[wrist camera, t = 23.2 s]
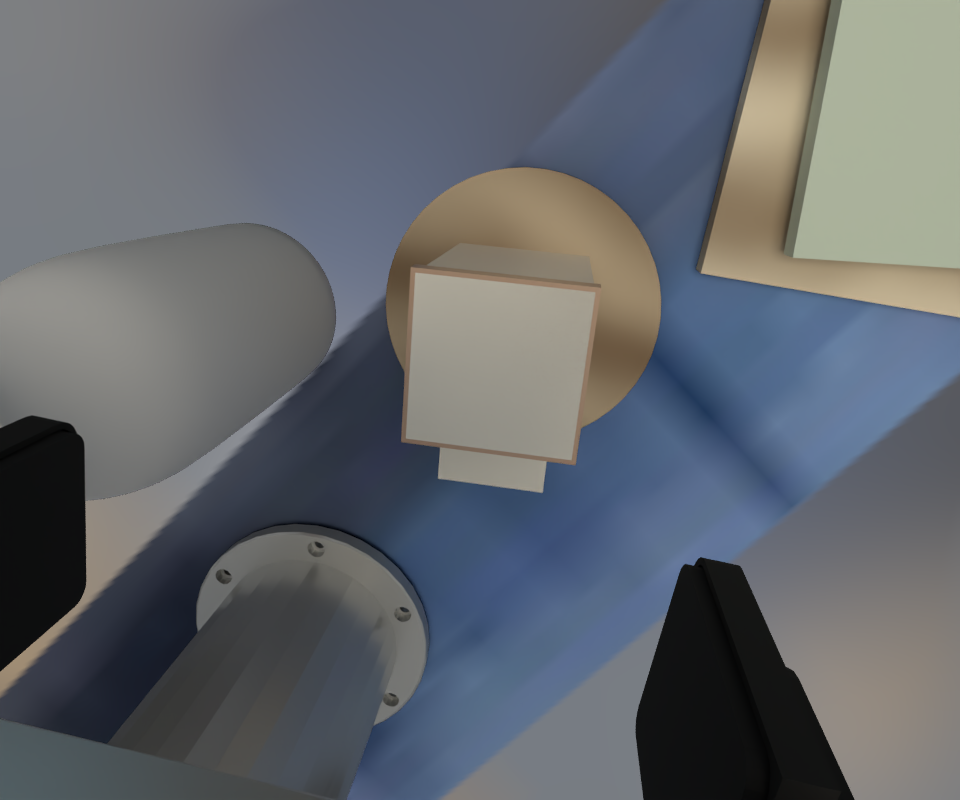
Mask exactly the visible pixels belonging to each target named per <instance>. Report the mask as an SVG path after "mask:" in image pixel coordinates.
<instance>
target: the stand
mask: <svg viewBox="0 0 960 800" xmlns="http://www.w3.org/2000/svg"><path fill="white" fill-rule="evenodd" d="M830 4H831V0H764V4H763V8H762V12H761V16H760V20H759V24H758V28H757V31H756V35H755V39H754V43H753V47H752V51H751V55H750V59H749V63H748V67H747V71H746V75H745V79H744V83H743V87H742V90H741V94H740V98H739V102H738V106H737V110H736V114H735V118H734V122H733V126H732V130H731V134H730V138H729V142H728V146H727V149H726V153H725V157H724V161H723V165H722V169H721V173H720V177H719V181H718V185H717V189H716V193H715V197H714V201H713V204H712V208H711V212H710V216H709V220H708V224H707V228H706V232H705V236H704V240H703V244H702V248H701V252H700V256H699V260H698V263H697V267H696V270H697V271H699V272H700V273H702V274H708V275H714V276H719V277H725V278H731V279H737V280H743V281H749V282H755V283H761V284H766V285H772V286H778V287H784V288H790V289H796V290H802V291H808V292H814V293H819V294H825V295H831V296H837V297H843V298H849V299H855V300H861V301H867V302H872V303H878V304H884V305H890V306H896V307H902V308H908V309H914V310H920V311H925V312H931V313H937V314H943V315H949V316H955V317H960V269H959V268H944V267H928V266H913V265H897V264H882V263H866V262H851V261H835V260H820V259H804V258H792V257H790V256H787V255H785V254H784V249H785V244H786V238H787V233H788V228H789V222H790V217H791V212H792V206H793V201H794V196H795V190H796V185H797V180H798V174H799V169H800V164H801V159H802V153H803V148H804V143H805V137H806V132H807V127H808V121H809V116H810V111H811V105H812V100H813V95H814V89H815V84H816V79H817V73H818V68H819V63H820V58H821V52H822V47H823V42H824V36H825V31H826V26H827V20H828V15H829V10H830Z"/></svg>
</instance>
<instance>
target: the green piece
mask: <svg viewBox="0 0 960 800" xmlns="http://www.w3.org/2000/svg"><path fill="white" fill-rule="evenodd" d="M784 254H785V255H787V256H790V257H792V258H804V259H820V260H835V261H851V262H866V263H882V264H897V265H913V266H928V267H944V268H959V269H960V0H831V4H830V10H829V15H828V20H827V26H826V31H825V36H824V42H823V47H822V52H821V58H820V63H819V68H818V73H817V79H816V84H815V89H814V95H813V100H812V105H811V111H810V116H809V121H808V127H807V132H806V137H805V143H804V148H803V153H802V159H801V164H800V169H799V174H798V180H797V185H796V190H795V196H794V201H793V206H792V212H791V217H790V222H789V228H788V233H787V238H786V244H785V249H784Z"/></svg>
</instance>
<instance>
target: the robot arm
mask: <svg viewBox="0 0 960 800" xmlns="http://www.w3.org/2000/svg"><path fill="white" fill-rule="evenodd" d="M85 528H86V523H85V446H84V440H83V438H82V437H81V436H80V435H79V434H77V432H76V430H75V428H74V426H72V425H71V424H70V423H66V422H62V421H57V420H52V419H48V418H43V417H38V416H33V415H31V416H27V417H24V418H22V419H20V420H17V421H15V422H13V423H10V424H8V425H6V426H4V427H1V428H0V671H1V670H2V669H4V668H5V667H6V666H7V665H8V664H9V663H10V662H12V661H13V660H14V659H15V658H16V657H17V656H19V655H20V654H21V653H22V652H23V651H24V650H26V649H27V648H28V647H29V646H30V645H31V644H32V643H33V642H35V641H36V640H37V639H38V638H39V637H41V636H42V635H43V634H44V633H45V632H46V631H47V630H48V629H50V628H51V627H52V626H53V625H54V624H55V623H56V622H58V621H59V620H60V619H61V618H62V617H64V616H65V615H66V614H67V613H68V612H69V611H70V610H71V609H72V608H74V607H75V606H76V605H77V604H78V602H79V601H80V599H81V597H82V595H83V593H84V590H85V587H86V529H85ZM196 625H197V631H198V633H197V634H196V635H195V636H194V637H193V639H192V640H191V641H190V642H189V644H188V645H187V646H186V647H185V649H184V650H183V651H182V652H181V653H180V655H179V656H178V657H177V658H176V660H175V661H174V662H173V663H172V665H171V666H170V667H169V668H168V669H167V671H166V672H165V673H164V674H163V676H162V677H161V678H160V679H159V681H158V682H157V683H156V684H155V685H154V687H153V688H152V689H151V690H150V692H149V693H148V694H147V695H146V697H145V698H144V699H143V700H142V701H141V703H140V704H139V705H138V706H137V708H136V709H135V710H134V711H133V713H132V714H131V715H130V716H129V717H128V719H127V720H126V721H125V722H124V724H123V725H122V726H121V727H120V729H119V730H118V731H117V732H116V733H115V735H114V736H113V737H112V738H111V740H110V741H109V742H108V743H107V744H105V743H101V742H97V741H93V740H88V739H84V738H80V737H76V736H72V735H68V734H64V733H59V732H55V731H51V730H47V729H43V728H39V727H34V726H30V725H26V724H22V723H18V722H14V721H9V720H5V719H1V718H0V800H347V797H348V794H349V792H350V789H351V786H352V783H353V781H354V778H355V775H356V772H357V769H358V767H359V764H360V761H361V758H362V756H363V753H364V750H365V747H366V744H367V742H368V739H369V736H370V733H371V731H372V728H373V726H374V725H376V724H379V723H381V722H383V721H385V720H387V719H388V718H389V717H391V716H392V715H394V714H395V713H396V712H398V711H399V710H400V709H401V708H402V707H403V706H404V705H405V704H406V703H407V702H408V701H409V699H410V698H411V697H412V696H413V694H414V692H415V690H416V689H417V687H418V685H419V683H420V681H421V678H422V675H423V672H424V669H425V666H426V663H427V657H428V650H429V644H430V643H429V630H428V622H427V619H426V616H425V612H424V609H423V605H422V603H421V601H420V599H419V598H418V596H417V594H416V592H415V590H414V588H413V586H412V585H411V584H410V582H409V581H408V580H407V578H406V577H405V576H404V575H403V573H402V572H401V571H400V569H399V568H398V567H396V566H395V565H394V564H393V563H392V562H391V561H390V560H389V559H388V558H387V557H385V556H384V555H383V554H382V553H381V552H379V551H378V550H376V549H374V548H373V547H371V546H370V545H368V544H367V543H365V542H363V541H362V540H360V539H357V538H355V537H353V536H350V535H348V534H346V533H343V532H341V531H337V530H333V529H329V528H325V527H321V526H316V525H302V524H291V525H281V526H273V527H270V528H267V529H263V530H260V531H257V532H254V533H252V534H250V535H248V536H247V537H245V538H243V539H241V540H239V541H238V542H236V543H235V544H234V545H233V546H232V547H231V548H229V549H228V550H227V551H226V552H225V553H224V554H223V555H222V556H221V557H220V558H219V559H218V560H217V562H216V563H215V564H214V565H213V566H212V567H211V569H210V570H209V572H208V574H207V576H206V578H205V580H204V581H203V583H202V585H201V588H200V592H199V596H198V600H197V604H196ZM636 740H637V749H638V757H639V766H640V774H641V782H642V790H643V798H644V800H854V797H853V795H852V793H851V791H850V789H849V787H848V785H847V782H846V780H845V778H844V776H843V774H842V772H841V769H840V767H839V765H838V763H837V761H836V759H835V756H834V754H833V752H832V750H831V748H830V745H829V743H828V741H827V739H826V737H825V735H824V732H823V730H822V728H821V726H820V724H819V722H818V719H817V717H816V715H815V713H814V711H813V709H812V706H811V704H810V702H809V700H808V698H807V696H806V693H805V691H804V689H803V687H802V685H801V683H800V681H799V679H798V677H797V676H796V674H795V672H794V671H792V670H791V669H789V668H787V667H785V664H784V662H783V660H782V658H781V655H780V653H779V651H778V649H777V647H776V644H775V642H774V640H773V638H772V635H771V633H770V631H769V629H768V626H767V624H766V622H765V620H764V617H763V615H762V613H761V611H760V609H759V606H758V604H757V602H756V599H755V597H754V595H753V593H752V590H751V588H750V586H749V584H748V581H747V579H746V577H745V575H744V573H743V570H742V568H741V567H740V566H738V565H734V564H729V563H725V562H720V561H715V560H710V559H706V558H701V557H700V558H699V559H698V560H697V561H696V563H695V565H694V566H692V565H687V564H684V565H683V567H682V568H681V571H680V573H679V576H678V580H677V583H676V586H675V589H674V593H673V596H672V599H671V603H670V606H669V609H668V612H667V616H666V619H665V623H664V626H663V629H662V632H661V635H660V639H659V642H658V645H657V649H656V652H655V655H654V659H653V662H652V665H651V668H650V671H649V675H648V678H647V681H646V684H645V688H644V691H643V694H642V698H641V701H640V704H639V708H638V712H637V717H636Z"/></svg>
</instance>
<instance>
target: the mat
mask: <svg viewBox="0 0 960 800" xmlns="http://www.w3.org/2000/svg"><path fill="white" fill-rule="evenodd" d="M459 243H466V244H475V245H485V246H494V247H504V248H514V249H523V250H533V251H542V252H552V253H561V254H571V255H580V256H589V258H590V263H591V269H592V275H593V280H594V284H601V294H600V301H599V308H598V314H597V321H596V328H595V335H594V342H593V349H592V356H591V362H590V369H589V376H588V383H587V390H586V397H585V404H584V411H583V417H582V424H581V428H582V427H584V426H586V425H588V424H590V423H592V422H594V421H596V420H597V419H599V418H600V417H601V416H603V415H604V414H606V413H607V412H609V411H610V410H611V409H612V408H613V407H615V406H616V405H617V404H618V403H619V402H620V401H621V400H622V399H623V398H624V397H625V396H626V395H627V394H628V392H629V391H630V390H631V389H632V388H633V386H634V385H635V384H636V382H637V381H638V379H639V378H640V376H641V374H642V373H643V371H644V370H645V368H646V365H647V363H648V361H649V359H650V357H651V355H652V352H653V349H654V346H655V343H656V339H657V336H658V330H659V324H660V319H661V294H660V283H659V278H658V274H657V270H656V266H655V263H654V260H653V258H652V255H651V252H650V250H649V247H648V245H647V243H646V242H645V240H644V238H643V236H642V235H641V233H640V231H639V229H638V228H637V227H636V225H635V224H634V223H633V221H632V220H631V219H630V218H629V216H628V215H627V214H626V213H625V212H624V211H623V210H622V209H621V208H620V207H619V206H618V205H617V204H616V203H615V202H614V201H613V200H612V199H610V198H609V197H608V196H606V195H605V194H604V193H602V192H601V191H600V190H598V189H597V188H595V187H593V186H591V185H589V184H588V183H586V182H584V181H582V180H580V179H577V178H575V177H572V176H569V175H567V174H564V173H560V172H556V171H552V170H547V169H539V168H528V167H522V168H505V169H500V170H495V171H489V172H486V173H483V174H480V175H477V176H474V177H471V178H469V179H467V180H465V181H462V182H460V183H458V184H456V185H455V186H453V187H451V188H450V189H448V190H447V191H445V192H444V193H442V194H441V195H439V196H438V197H437V198H436V199H435V200H433V201H432V202H431V203H430V204H429V205H428V206H427V207H426V208H425V209H424V210H423V211H422V212H421V213H420V214H419V216H418V217H417V218H416V219H415V220H414V221H413V223H412V224H411V226H410V227H409V229H408V230H407V232H406V234H405V235H404V237H403V238H402V240H401V242H400V245H399V247H398V249H397V251H396V253H395V256H394V259H393V262H392V266H391V269H390V273H389V278H388V284H387V291H386V313H387V324H388V329H389V333H390V338H391V342H392V344H393V347H394V350H395V353H396V356H397V358H398V360H399V362H400V364H401V366H402V368H403V370H404V372H405V362H406V344H407V326H408V308H409V290H410V272H411V267H412V266H413V265H415V264H419V265H428V264H429V263H431V262H432V261H434V260H435V259H437V258H438V257H440V256H441V255H443V254H444V253H446V252H447V251H449V250H450V249H452V248H453V247H455V246H456V245H458V244H459Z"/></svg>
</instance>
